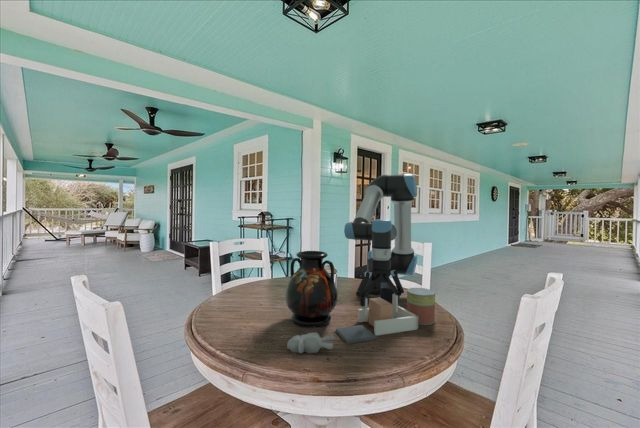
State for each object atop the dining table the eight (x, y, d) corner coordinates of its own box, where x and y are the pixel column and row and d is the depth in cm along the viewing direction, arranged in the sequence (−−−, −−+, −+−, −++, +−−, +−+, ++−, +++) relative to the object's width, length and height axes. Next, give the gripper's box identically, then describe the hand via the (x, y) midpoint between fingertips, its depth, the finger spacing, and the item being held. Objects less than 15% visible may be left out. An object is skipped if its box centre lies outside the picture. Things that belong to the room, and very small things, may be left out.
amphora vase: (275, 326, 118) (276, 255, 118) (298, 308, 139) (298, 248, 138) (327, 334, 111) (328, 258, 110) (343, 315, 131) (344, 250, 131)
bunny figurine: (290, 331, 105) (333, 328, 103) (292, 345, 105) (335, 343, 103) (284, 343, 95) (331, 340, 94) (286, 359, 95) (333, 356, 94)
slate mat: (361, 327, 118) (361, 325, 118) (375, 339, 108) (376, 336, 108) (335, 331, 114) (335, 328, 114) (347, 343, 104) (347, 340, 104)
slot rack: (396, 316, 131) (397, 304, 130) (418, 329, 117) (418, 316, 117) (358, 321, 124) (358, 309, 124) (375, 335, 111) (375, 322, 111)
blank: (379, 321, 125) (379, 297, 124) (391, 330, 116) (392, 304, 116) (368, 322, 123) (369, 298, 123) (380, 331, 115) (380, 305, 114)
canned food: (440, 321, 126) (441, 292, 125) (422, 327, 119) (423, 296, 119) (418, 313, 135) (418, 286, 135) (400, 318, 129) (401, 290, 129)
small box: (394, 311, 137) (394, 288, 136) (379, 310, 138) (380, 287, 138) (393, 304, 147) (394, 282, 147) (379, 303, 148) (380, 281, 148)
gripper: (356, 261, 111) (355, 319, 112) (413, 259, 120) (412, 312, 120) (348, 258, 118) (347, 312, 119) (402, 256, 127) (401, 306, 127)
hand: (380, 312), depth 119 cm, fingers open, 13 cm apart
